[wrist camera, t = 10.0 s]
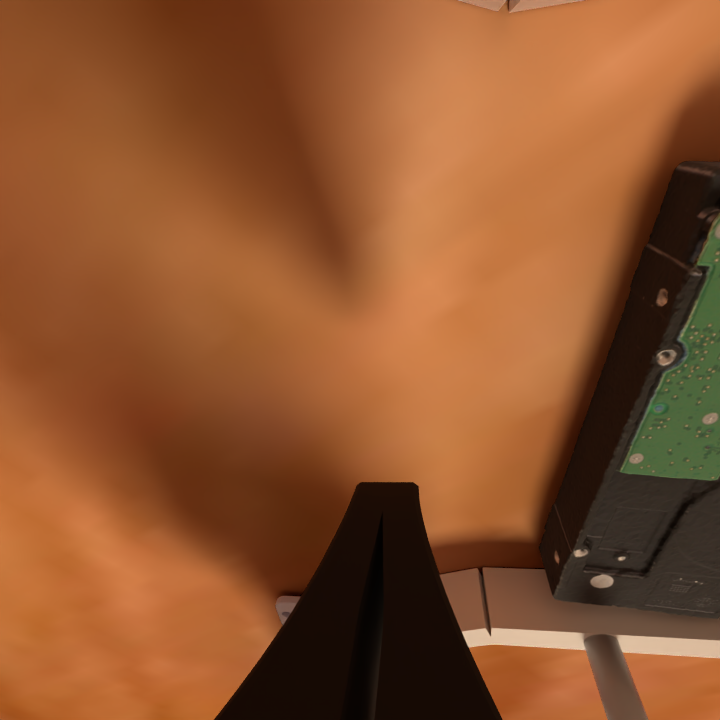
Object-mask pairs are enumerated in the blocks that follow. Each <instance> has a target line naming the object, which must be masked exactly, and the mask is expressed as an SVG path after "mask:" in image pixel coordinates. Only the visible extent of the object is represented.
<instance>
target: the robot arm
mask: <svg viewBox="0 0 720 720" xmlns="http://www.w3.org/2000/svg"><path fill="white" fill-rule="evenodd" d="M275 607H276V610H277V613H278V615H279V618H280V620H281V623H282V625H283V626H282V627H281V629H280V630H279V632H278V633H277V635H276V636H275V638H274V639H273V641H272V642H271V644H270V645H269V647H268V648H267V649H266V651H265V652H264V654H263V655H262V657H261V658H260V659H259V661H258V662H257V664H256V665H255V666H254V668H253V669H252V670H251V672H250V673H249V674H248V676H247V677H246V678H245V680H244V681H243V683H242V684H241V685H240V687H239V688H238V689H237V691H236V692H235V693H234V695H233V696H232V697H231V699H230V700H229V701H228V702H227V704H226V705H225V706H224V708H223V709H222V710H221V711H220V713H219V714H218V715H217V716H216V718H215V719H214V720H502V718H501V716H500V713H499V711H498V709H497V707H496V705H495V703H494V701H493V699H492V697H491V695H490V693H489V691H488V689H487V687H486V685H485V682H484V680H483V678H482V676H481V674H480V672H479V669H478V667H477V665H476V663H475V661H474V659H473V656H472V654H471V652H470V650H469V647H468V645H467V643H466V641H465V638H464V636H463V634H462V631H461V629H460V626H459V624H458V622H457V619H456V617H455V614H454V612H453V609H452V607H451V604H450V602H449V599H448V597H447V594H446V591H445V588H444V586H443V583H442V580H441V578H440V575H439V572H438V569H437V566H436V563H435V560H434V557H433V554H432V551H431V547H430V544H429V541H428V537H427V533H426V530H425V526H424V522H423V517H422V513H421V507H420V501H419V488H418V486H417V485H416V484H415V483H413V482H361V483H359V484H358V485H357V486H356V489H355V492H354V494H353V497H352V499H351V502H350V504H349V507H348V509H347V511H346V513H345V516H344V518H343V520H342V522H341V524H340V526H339V528H338V530H337V532H336V534H335V536H334V538H333V540H332V542H331V544H330V546H329V548H328V550H327V552H326V553H325V555H324V557H323V559H322V561H321V563H320V565H319V567H318V568H317V570H316V572H315V574H314V575H313V577H312V579H311V580H310V582H309V584H308V585H307V587H306V589H305V590H304V592H303V594H302V596H281V597H279V598H278V599H277V601H276V605H275Z"/></svg>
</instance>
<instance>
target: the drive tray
mask: <svg viewBox="0 0 720 720" xmlns="http://www.w3.org/2000/svg"><path fill="white" fill-rule="evenodd" d="M458 1H462V2H465V3H469V4H472V5H476V6H479V7H483V8H486V9H490V10H494V11H497V12H498V11H499V9H500V8H501V7H502V6H503V5H504V3H505V2H506V1H507V0H458ZM577 1H583V0H509V13H511V12H517V11H523V10H529V9H535V8H541V7H547V6H553V5H559V4H565V3H571V2H577ZM440 578H441V580H442V583H443V586H444V588H445V591H446V594H447V597H448V599H449V602H450V604H451V607H452V609H453V612H454V614H455V617H456V619H457V622H458V624H459V626H460V629H461V631H462V634H463V636H464V638H465V641H466V643H467V645H468V647H475V646H484V645H492V644H497V645H513V646H529V647H546V648H562V649H578V650H586V652H587V656H588V659H589V662H590V665H591V668H592V671H593V675H594V678H595V681H596V684H597V687H598V690H599V694H600V697H601V700H602V703H603V706H604V709H605V713H606V716H607V719H608V720H648V718H647V715H646V712H645V710H644V707H643V705H642V702H641V699H640V697H639V694H638V692H637V689H636V686H635V684H634V681H633V678H632V676H631V673H630V671H629V668H628V665H627V663H626V660H625V658H624V655H623V652H627V653H643V654H659V655H675V656H692V657H708V658H720V618H719V619H711V618H701V617H693V616H689V615H676V614H668V613H663V612H656V611H650V610H639V609H636V608H627V607H617V606H615V605H612V606H602V605H593V604H583V603H576V602H566V601H560V600H555V599H554V598H553V596H552V593H551V590H550V587H549V582H548V579H547V576H546V572H545V569H518V568H488V567H483V571H482V575H481V574H480V572H479V570H478V568H474V569H468V570H463V571H457V572H452V573H446V574H441V575H440Z"/></svg>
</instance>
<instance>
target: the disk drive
mask: <svg viewBox="0 0 720 720" xmlns="http://www.w3.org/2000/svg"><path fill="white" fill-rule="evenodd" d="M630 287H631V291H630V294H629V298H628V300H627V302H626V305H625V309H624V312H623V314H622V317H621V320H620V322H619V325H618V328H617V331H616V333H615V338H614V340H613V343H612V345H611V348H610V350H609V353H608V356H607V360H606V362H605V364H604V367H603V370H602V373H601V376H600V378H599V381H598V384H597V387H596V390H595V392H594V395H593V397H592V400H591V404H590V406H589V409H588V412H587V415H586V417H585V420H584V422H583V426H582V428H581V431H580V434H579V436H578V440H577V443H576V445H575V448H574V452H573V455H572V457H571V460H570V463H569V465H568V468H567V471H566V474H565V477H564V479H563V482H562V485H561V487H560V490H559V493H558V496H557V499H556V502H555V504H554V505H553V506H552V509H551V512H550V514H549V517H548V520H547V523H546V525H545V532H544V535H543V537H542V542H541V544H540V546H539V549H540V553H541V557H542V561H543V565H544V568H545V572H546V576H547V579H548V582H549V587H550V590H551V593H552V596H553V598H554V599H555V600H560V601H566V602H576V603H583V604H593V605H602V606H612V605H615V606H617V607H627V608H636V609H639V610H650V611H656V612H663V613H668V614H676V615H689V616H693V617H701V618H711V619H719V618H720V162H707V161H685V162H682V163H681V164H680V165H678V166H677V167H676V169H675V170H674V173H673V175H672V178H671V181H670V183H669V186H668V190H667V192H666V195H665V197H664V200H663V203H662V205H661V210H660V213H659V215H658V217H657V219H656V222H655V225H654V227H653V231H652V233H651V235H650V240H649V242H648V244H647V245H646V246H645V247H644V250H643V252H642V255H641V258H640V261H639V264H638V267H637V269H636V271H635V274H634V277H633V280H632V283H631V286H630Z"/></svg>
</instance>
